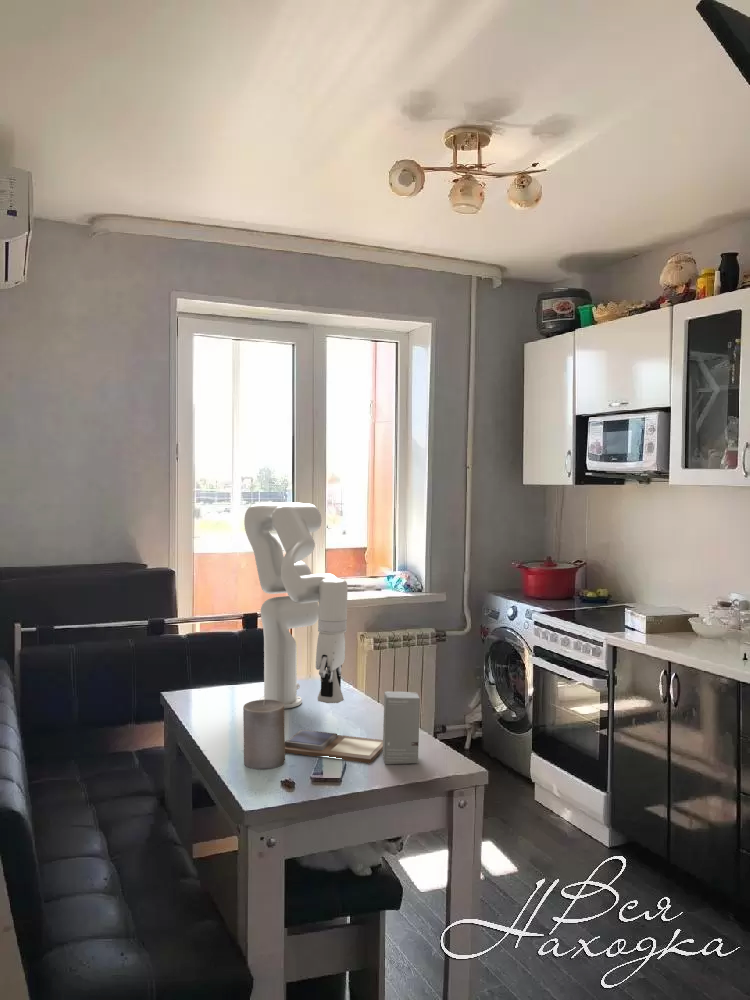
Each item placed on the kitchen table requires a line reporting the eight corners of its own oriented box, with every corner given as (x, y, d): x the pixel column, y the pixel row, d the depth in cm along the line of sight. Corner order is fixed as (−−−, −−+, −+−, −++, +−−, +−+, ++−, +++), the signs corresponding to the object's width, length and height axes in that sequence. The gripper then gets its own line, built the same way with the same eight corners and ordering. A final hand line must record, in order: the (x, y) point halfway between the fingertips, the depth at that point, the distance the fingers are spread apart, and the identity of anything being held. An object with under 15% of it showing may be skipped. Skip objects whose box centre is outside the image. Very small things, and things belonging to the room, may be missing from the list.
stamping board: (300, 734, 212) (300, 726, 212) (388, 744, 205) (388, 736, 205) (277, 751, 199) (277, 743, 199) (370, 763, 191) (370, 754, 191)
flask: (340, 705, 211) (341, 667, 210) (313, 702, 213) (314, 665, 212) (347, 697, 218) (348, 660, 218) (321, 694, 220) (321, 658, 219)
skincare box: (384, 765, 190) (384, 698, 190) (382, 754, 198) (382, 690, 197) (420, 764, 191) (420, 697, 190) (416, 753, 198) (417, 689, 198)
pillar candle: (265, 752, 199) (264, 691, 198) (293, 761, 193) (292, 698, 192) (235, 763, 191) (234, 700, 191) (263, 773, 185) (262, 708, 185)
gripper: (330, 617, 223) (329, 682, 225) (306, 631, 207) (304, 700, 208) (356, 620, 221) (354, 686, 222) (333, 634, 205) (332, 704, 206)
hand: (330, 692), depth 215 cm, fingers closed on flask, 4 cm apart
